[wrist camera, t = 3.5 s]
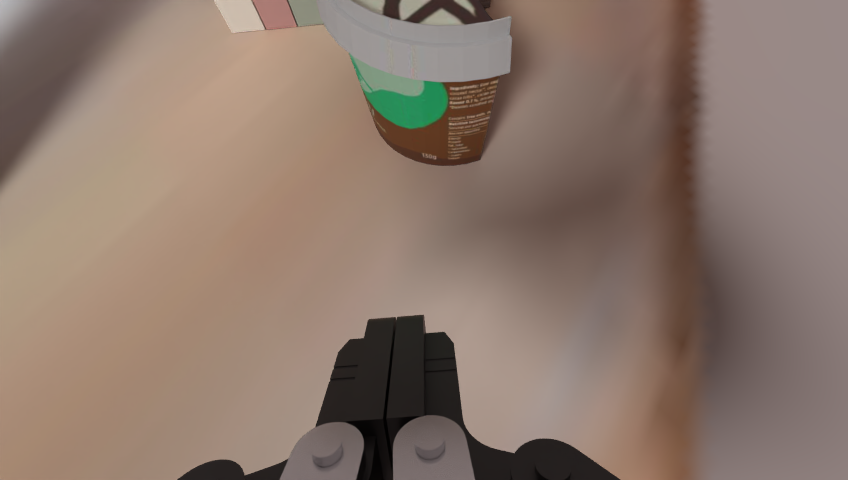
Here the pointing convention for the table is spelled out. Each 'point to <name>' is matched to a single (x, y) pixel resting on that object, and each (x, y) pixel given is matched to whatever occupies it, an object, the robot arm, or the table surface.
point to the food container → (425, 71)
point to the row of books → (268, 14)
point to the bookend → (485, 3)
